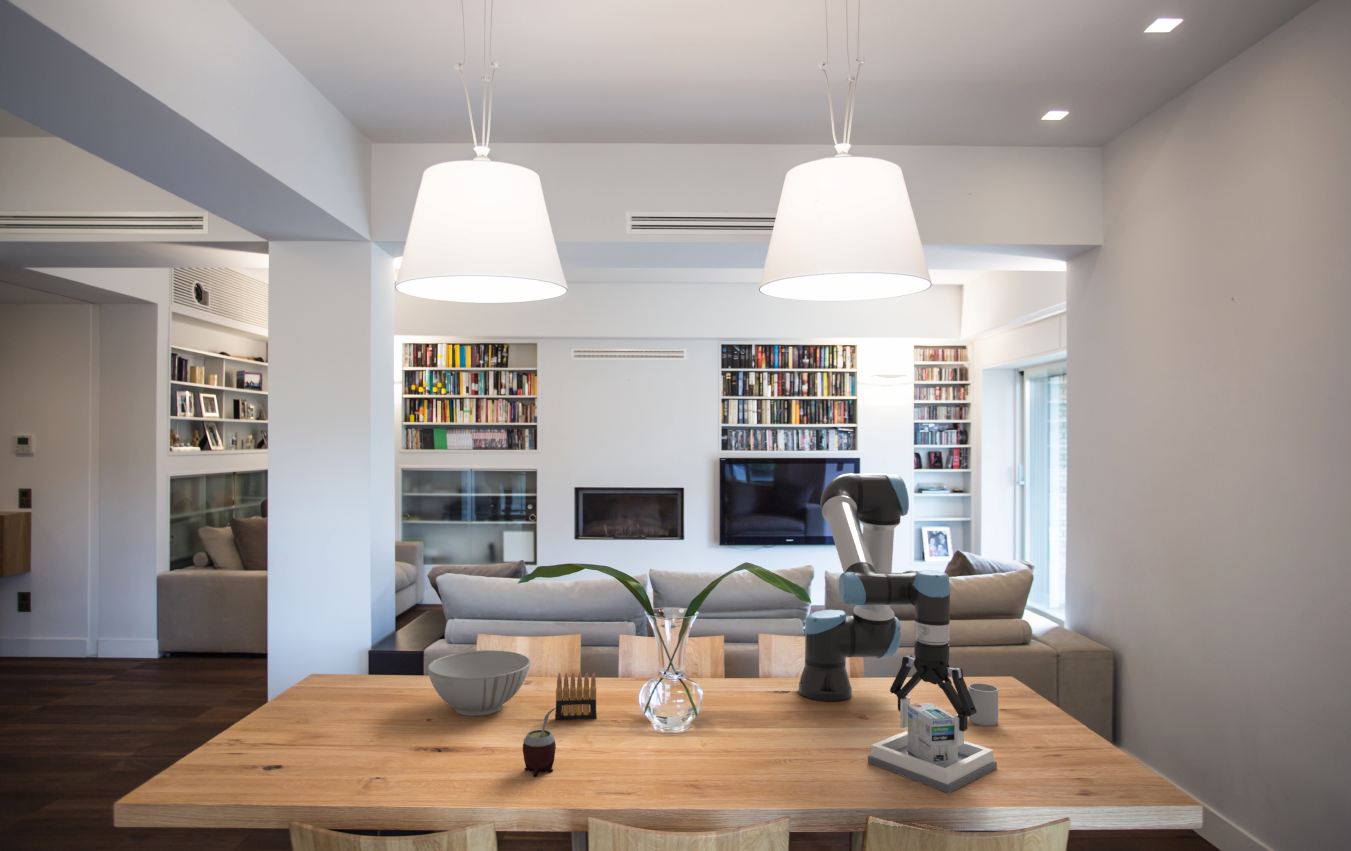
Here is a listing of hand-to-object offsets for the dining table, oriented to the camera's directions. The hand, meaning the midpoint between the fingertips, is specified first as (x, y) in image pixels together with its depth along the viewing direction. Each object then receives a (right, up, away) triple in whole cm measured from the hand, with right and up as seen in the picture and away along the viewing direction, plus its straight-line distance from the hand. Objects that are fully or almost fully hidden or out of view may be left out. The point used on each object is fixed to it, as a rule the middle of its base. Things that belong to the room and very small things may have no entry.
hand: (931, 735), depth 175 cm
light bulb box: (0, -5, 0) cm, 5 cm away
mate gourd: (-87, -6, -6) cm, 88 cm away
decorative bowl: (-111, -7, +34) cm, 116 cm away
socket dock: (0, -6, -1) cm, 7 cm away
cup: (+21, -8, +28) cm, 36 cm away
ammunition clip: (-84, -7, +27) cm, 88 cm away
